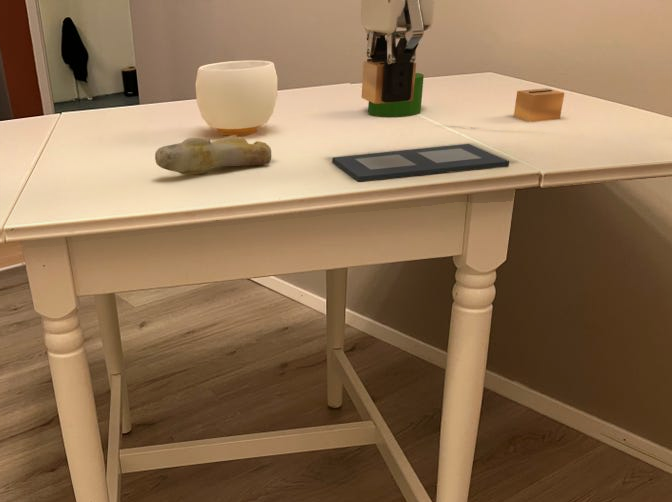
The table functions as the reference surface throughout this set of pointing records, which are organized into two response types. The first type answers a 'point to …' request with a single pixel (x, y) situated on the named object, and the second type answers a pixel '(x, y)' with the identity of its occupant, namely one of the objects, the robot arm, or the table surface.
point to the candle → (400, 103)
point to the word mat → (418, 162)
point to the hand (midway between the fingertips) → (387, 96)
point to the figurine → (211, 154)
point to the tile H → (377, 81)
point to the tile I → (538, 104)
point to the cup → (236, 95)
